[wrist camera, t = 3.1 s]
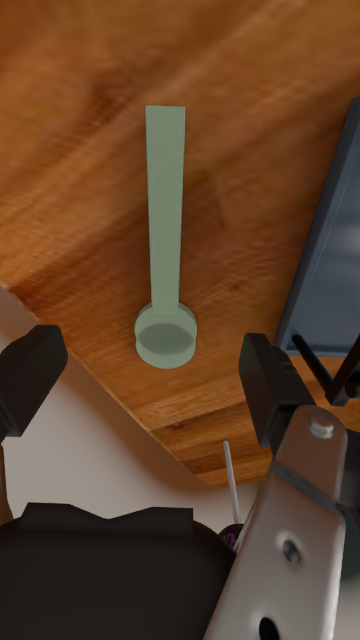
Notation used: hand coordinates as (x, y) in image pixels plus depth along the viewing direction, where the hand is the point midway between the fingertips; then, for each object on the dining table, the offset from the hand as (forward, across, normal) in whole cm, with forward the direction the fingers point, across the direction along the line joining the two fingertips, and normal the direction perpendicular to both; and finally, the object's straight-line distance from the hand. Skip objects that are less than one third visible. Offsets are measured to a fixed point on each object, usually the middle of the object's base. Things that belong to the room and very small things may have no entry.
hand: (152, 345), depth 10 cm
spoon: (+9, 0, 0) cm, 9 cm away
